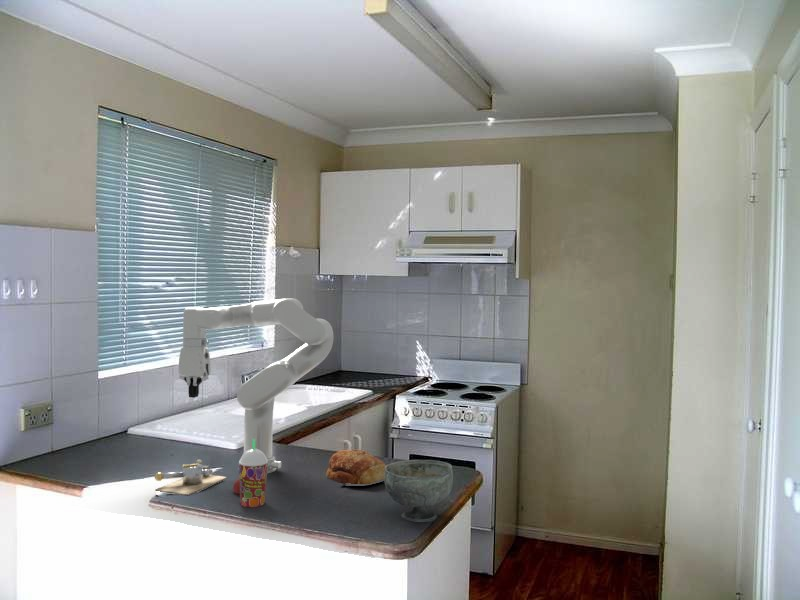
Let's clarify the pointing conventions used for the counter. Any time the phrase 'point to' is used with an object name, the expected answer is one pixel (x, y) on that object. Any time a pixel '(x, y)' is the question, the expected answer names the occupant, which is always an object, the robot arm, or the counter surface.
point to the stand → (185, 489)
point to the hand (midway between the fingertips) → (193, 396)
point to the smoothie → (253, 477)
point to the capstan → (187, 474)
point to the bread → (355, 467)
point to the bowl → (419, 486)
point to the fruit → (236, 486)
